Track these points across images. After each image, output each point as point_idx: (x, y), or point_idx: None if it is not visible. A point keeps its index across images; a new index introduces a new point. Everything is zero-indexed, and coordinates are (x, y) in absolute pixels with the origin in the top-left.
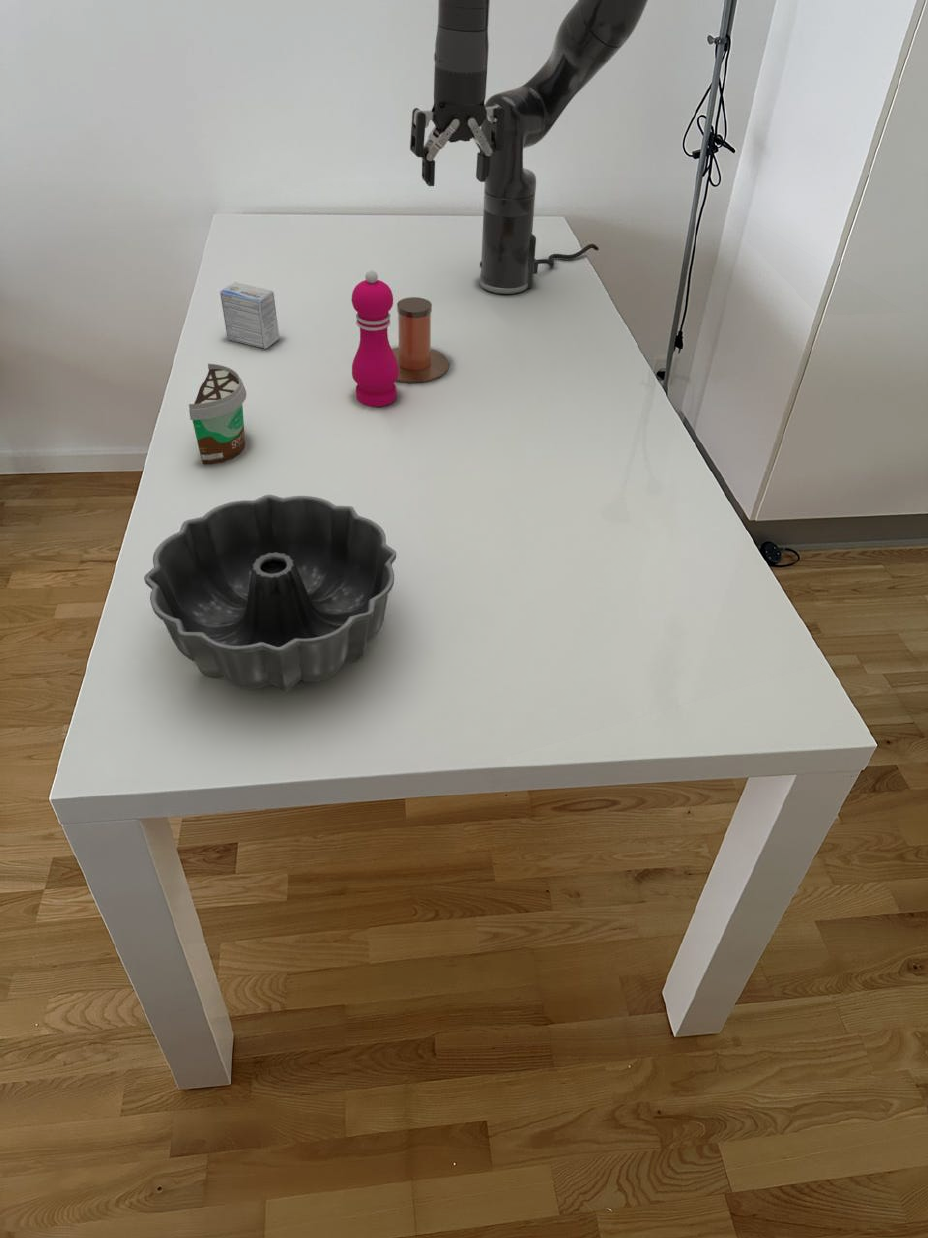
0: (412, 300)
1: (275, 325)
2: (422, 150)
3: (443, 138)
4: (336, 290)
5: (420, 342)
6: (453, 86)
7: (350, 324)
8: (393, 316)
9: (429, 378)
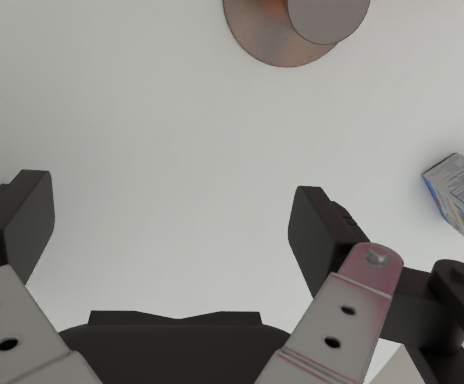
0: (320, 23)
1: (442, 181)
2: (451, 281)
3: (357, 313)
4: (267, 284)
5: None
6: None
7: (305, 181)
8: (230, 182)
9: None
